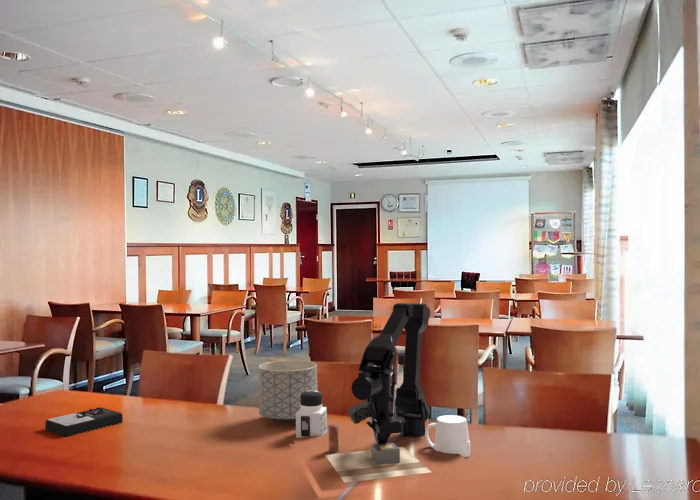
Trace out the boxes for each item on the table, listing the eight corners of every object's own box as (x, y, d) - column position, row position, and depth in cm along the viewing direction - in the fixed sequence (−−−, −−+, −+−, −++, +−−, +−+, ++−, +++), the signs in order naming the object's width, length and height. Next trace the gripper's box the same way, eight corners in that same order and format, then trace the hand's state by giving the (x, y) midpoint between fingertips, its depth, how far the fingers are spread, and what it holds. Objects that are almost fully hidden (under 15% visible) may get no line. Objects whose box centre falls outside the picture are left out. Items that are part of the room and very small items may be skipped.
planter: (286, 409, 209) (285, 358, 209) (329, 418, 198) (328, 363, 198) (247, 422, 194) (246, 366, 194) (291, 432, 182) (290, 373, 183)
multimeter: (123, 424, 196) (123, 408, 196) (65, 438, 181) (65, 422, 181) (101, 417, 204) (101, 403, 204) (44, 431, 189) (44, 415, 189)
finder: (393, 456, 156) (393, 441, 156) (399, 462, 152) (399, 447, 152) (371, 458, 155) (371, 443, 155) (377, 464, 150) (377, 449, 150)
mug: (470, 416, 164) (468, 424, 156) (471, 450, 164) (468, 459, 156) (427, 413, 168) (422, 421, 160) (428, 446, 168) (423, 456, 160)
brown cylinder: (337, 453, 163) (337, 423, 163) (339, 456, 160) (339, 426, 160) (327, 454, 162) (327, 424, 162) (330, 457, 160) (329, 427, 160)
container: (321, 439, 175) (320, 395, 175) (295, 438, 176) (295, 394, 177) (327, 432, 182) (326, 389, 183) (302, 430, 184) (302, 388, 184)
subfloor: (403, 451, 164) (403, 446, 164) (432, 477, 145) (432, 472, 145) (325, 459, 158) (325, 455, 158) (344, 487, 139) (344, 482, 139)
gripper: (341, 386, 164) (342, 443, 164) (360, 402, 146) (361, 466, 146) (380, 383, 167) (380, 439, 167) (403, 399, 149) (403, 462, 149)
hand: (380, 451), depth 157 cm, fingers closed
